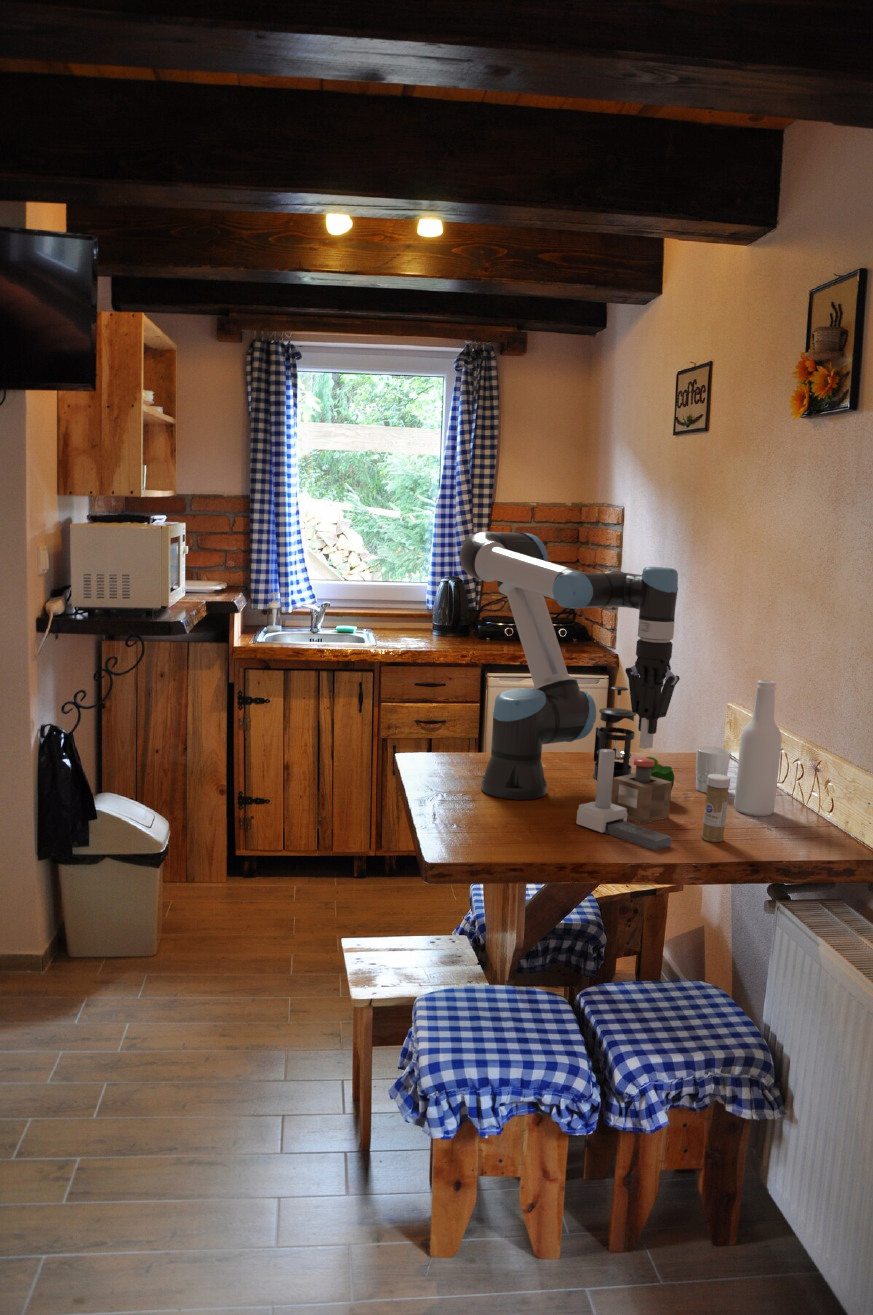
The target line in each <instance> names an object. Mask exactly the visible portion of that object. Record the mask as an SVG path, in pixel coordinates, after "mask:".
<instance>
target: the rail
mask: <svg viewBox="0 0 873 1315" xmlns="http://www.w3.org/2000/svg"><path fill="white" fill-rule="evenodd" d="M603 833H604V834H607V835H609V834H610V836H612V837H615V838H618V839H621V840H624V841H626V842H629V843H632V844H635V845H639V846H641V847H643V848H646V849H649V850H652V851H655V852H656V851H659V850H663V849H667V848H670V847H671V846H672V838H673V837H672V836H671V835H667V834H665V833H661V832H660V831H659V832H658V831H655V830H653V829H649V828H647V827H644V826H641V825H638V824H635V823H633V822H629V821H627V822H626V821H623V820H620V819H618V820H614V821H610V822H606V828H605V832H603Z"/></svg>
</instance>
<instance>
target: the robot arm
mask: <svg viewBox="0 0 873 1315" xmlns="http://www.w3.org/2000/svg"><path fill="white" fill-rule="evenodd" d="M459 559H460V560H459V561H460V564H461V567H462V569H463V570H464V572H465V573H466V574H467V575H468V576H470V577H472V578H474V579H478V580H481V581H484V582H487V583H488V582H489V583H490V582H496V585H497V588H498V591H499V593H501V594H503V595H505V596H507V600H508V603H509V607H510V610H511V613H512V616H513V620H514V624H515V626H516V630H517V633H518V636H519V640H520V643H521V646H522V650H523V654H524V656H525V660H526V662H527V667H528V669H529V670H528V671H529V673H530V676H531V679H532V682H533V687H532V688H529V687H526V688H511V689H507V690H504V691H502V692H500V693H499V694H497V696H496V697H495V699H494V706H493V710H492V729H491V730H492V732H491V734H492V735H491V749H490V750H491V751H490V758H489V760H488V762H487V765H486V769H485V772H484V774H483V775H482V777H481V784H480V785H481V786H480V787H481V788H480V790H481V791H483V793H485V794H487V795H489V796H492V797H495V798H501V799H507V800H518V801H519V800H520V801H521V800H522V801H524V800H535V799H540V798H542V797H543V798H544V797H545V796H546V795H547V790H548V788H547V787H548V784H547V783H548V782H547V780H546V779H545V772H544V768H543V762H542V754H543V753H542V751H543V745H548V744H556V743H565V742H566V743H571V742H575V741H577V740H582V739H584V738H585V737H587V736H588V735H589V734H590V733H591V732H592V730H593V729H594V725H595V723H596V720H597V707H596V703H595V700H594V699H593V697H592V695H591V694H589V693H588V692H587V691H584V690H581V689H580V686H579V684H578V679H576V678H575V677H573V676H571V675H569V673H568V669H567V666H566V663H565V660H564V656H563V654H562V650H561V647H560V644H559V641H558V636H557V635H556V630H555V627H554V625H553V621H552V618H551V616H550V611H549V609H548V606H547V603H546V599H545V598H549V599H552V600H554V601H555V602H556V603H557V604H558V606H559V607H562V608H564V609H572V610H579V609H590V608H592V609H593V608H626V609H627V608H628V609H635V610H638V611H639V613H638V626H637V637H638V639H637V640H636V649H635V655H636V656H637V657H636V660H635V663H634V665H632V666H630V667H626V668H625V669H624V671H625V674H626V676H627V678H628V690H629V696H630V706H631V711H632V712H633V713H636V715H637V716H638V725H637V726H638V727H637V728H638V732H640V734H639V745H638V746H639V748H641V749H645V750H646V749H650V748H653V745H654V734H656V733H657V729H658V720H659V719H661V718H665V717H666V716H667V714H668V710H669V708H670V707H669V706H670V703H671V700H672V697H673V694H674V690H675V687H676V685H677V684H678V682H679V681H680V676H679V675H675V674H674V673H673V672H672V671H671V670H672V667H671V664H670V663H671V662H670V661H671V659H672V656H673V654H672V653H673V643H672V641H671V640H673V639H674V633H675V623H676V622H675V616H676V615H675V614H676V605H677V598H678V591H679V587H678V585H679V583H678V582H679V580H678V579H679V573H678V571H677V569H675V568H671V567H662V566H645V567H644V568H643V569H642V574H636V573H632V572H630V573H629V572H624V571H620V570H618V571H613V570H612V571H610V570H609V571H605V572H585V571H580V570H577V569H574V568H571V567H567V566H564V565H560V564H558V563H554V562H550V561H548V559H549V558H548V552H547V548H546V546H545V545H544V543H543V541H542V540H541V539H540V538H539V537H538V536H536V535H534V534H532V533H527V532H523V531H514V532H505V531H503V532H502V531H480V532H477V533H473V534H472V535H471V536H469V537H468V538H467V539H466V540H465V541H464V542H463V544H462V546H461V548H460V552H459Z"/></svg>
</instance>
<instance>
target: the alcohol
mask: <svg viewBox="0 0 873 1315" xmlns="http://www.w3.org/2000/svg"><path fill="white" fill-rule="evenodd" d="M756 683H757V685H756V689H757V690H756V696H755V701H754V706H753V711H752V716H751V719H750V720H749V721H748V722H747V724H745V725H744V726H743V728H742V730H741V733H740V741H739V751H738V762H737V772H736V782H735V792H734V793H735V794H734V802H733V806H734V808H735V811H737V812H739V813H740V814H743V815H747V816H753V817H769V816H771V815H772V814H773V813H774V811H775V808H776V807H775V806H776V797H777V796H776V795H777V788H778V779H779V778H778V777H779V770H780V769H779V767H780V759H781V752H782V751H781V749H782V739H783V738H782V732H781V731H780V728H779V727H778V725H777V724H776V721H775V697H776V696H775V694H776V692H775V691H776V689H777V688H776V685H777V682H776V681H774V680H768V679H759V680H757V682H756Z"/></svg>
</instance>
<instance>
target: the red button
mask: <svg viewBox="0 0 873 1315" xmlns="http://www.w3.org/2000/svg"><path fill="white" fill-rule="evenodd" d="M654 762H655V761H654V760H652V759H648V758H646V757H635V758H634V759H633V765H634V766H636V767H635V773H636V775H635V781H636V782H640V783H643V784H646V783H650V775H651V767H654Z"/></svg>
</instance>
